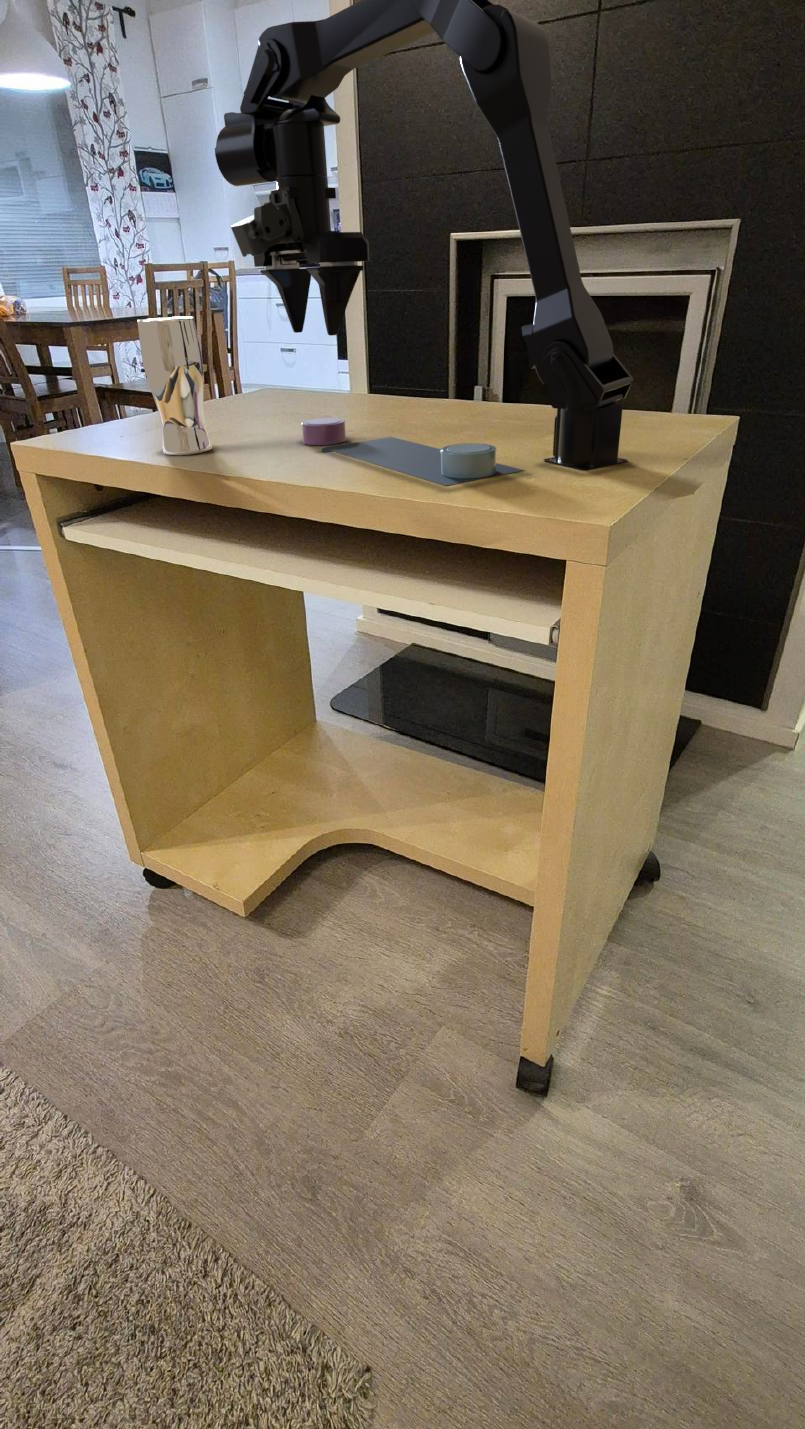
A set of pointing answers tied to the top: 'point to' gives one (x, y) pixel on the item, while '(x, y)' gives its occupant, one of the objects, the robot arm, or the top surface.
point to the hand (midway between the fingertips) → (314, 333)
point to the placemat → (407, 459)
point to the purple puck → (323, 431)
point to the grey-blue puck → (468, 460)
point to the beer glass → (176, 382)
